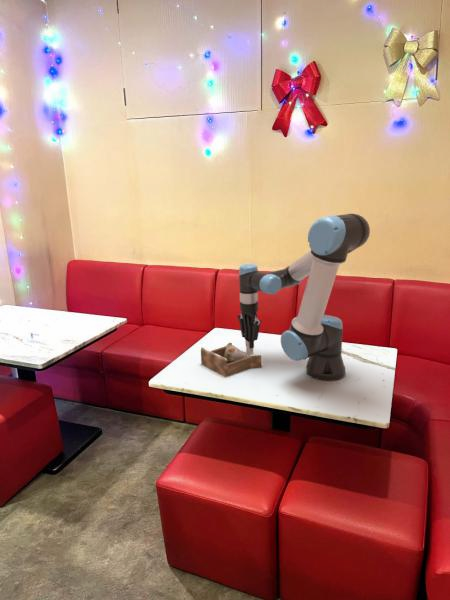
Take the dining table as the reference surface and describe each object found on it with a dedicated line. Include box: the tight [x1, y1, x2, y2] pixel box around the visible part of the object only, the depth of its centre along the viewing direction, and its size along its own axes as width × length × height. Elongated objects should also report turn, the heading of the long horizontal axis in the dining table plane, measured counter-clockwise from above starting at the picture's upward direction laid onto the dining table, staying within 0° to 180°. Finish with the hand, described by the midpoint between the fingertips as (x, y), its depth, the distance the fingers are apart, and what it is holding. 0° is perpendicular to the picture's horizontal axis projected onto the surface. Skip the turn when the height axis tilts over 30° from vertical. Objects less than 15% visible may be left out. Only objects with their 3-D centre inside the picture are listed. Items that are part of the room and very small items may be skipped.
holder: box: [200, 342, 262, 378], centre depth 177 cm, size 21×18×8 cm
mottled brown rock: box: [224, 343, 248, 362], centre depth 180 cm, size 8×10×10 cm
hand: (249, 354), depth 184 cm, fingers closed
